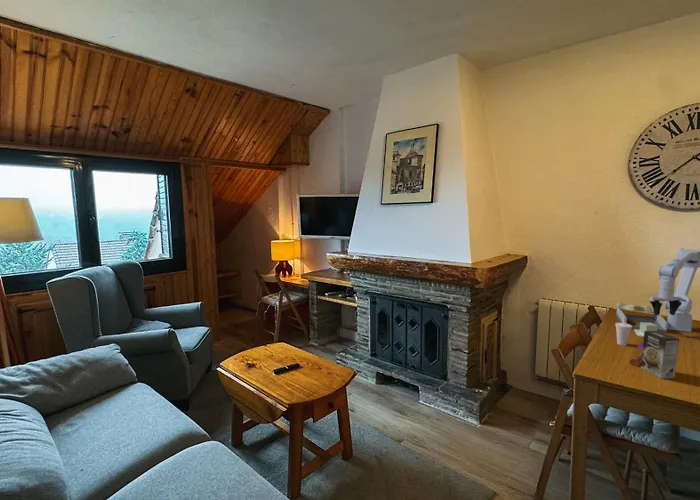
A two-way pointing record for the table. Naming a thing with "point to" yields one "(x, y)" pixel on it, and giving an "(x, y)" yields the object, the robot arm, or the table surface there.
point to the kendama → (637, 359)
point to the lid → (635, 308)
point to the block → (647, 327)
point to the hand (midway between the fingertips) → (664, 314)
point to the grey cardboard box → (659, 354)
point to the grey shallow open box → (643, 320)
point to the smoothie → (623, 332)
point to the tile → (639, 333)
